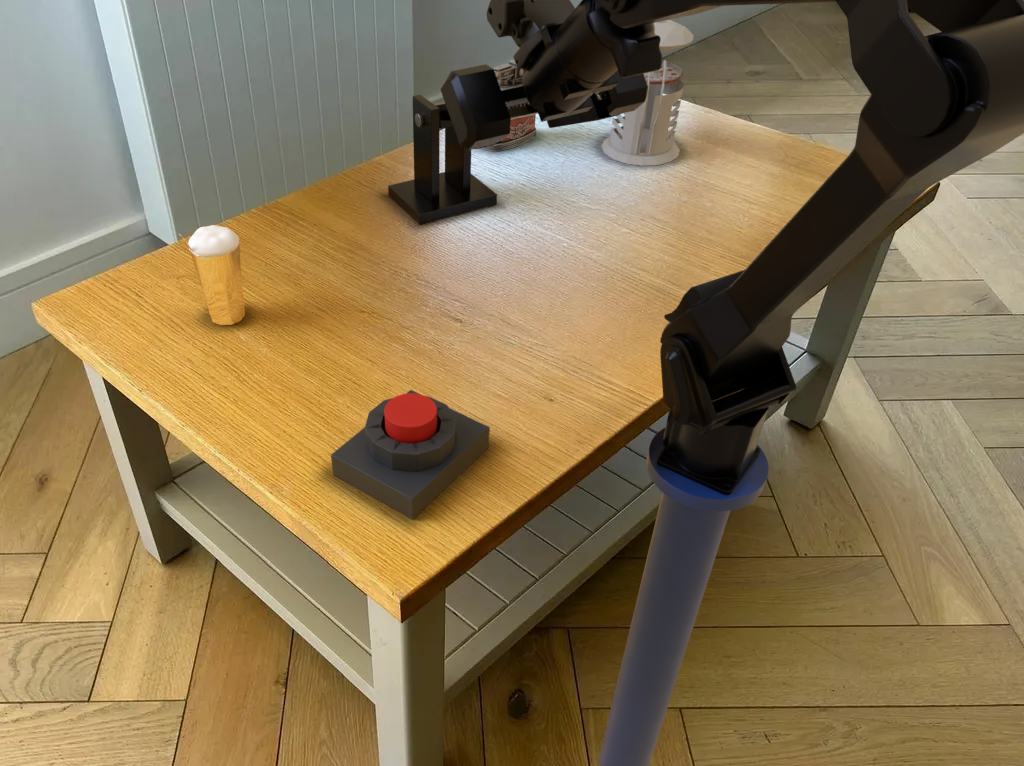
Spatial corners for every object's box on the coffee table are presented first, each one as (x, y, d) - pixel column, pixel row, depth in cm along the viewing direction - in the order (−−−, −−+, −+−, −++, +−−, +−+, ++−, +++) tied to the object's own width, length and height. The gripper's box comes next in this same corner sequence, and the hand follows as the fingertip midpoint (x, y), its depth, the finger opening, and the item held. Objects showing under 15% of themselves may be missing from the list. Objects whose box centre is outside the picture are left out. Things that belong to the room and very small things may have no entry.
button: (447, 423, 69) (447, 406, 68) (415, 451, 67) (415, 434, 66) (406, 403, 71) (406, 386, 70) (374, 430, 69) (373, 413, 68)
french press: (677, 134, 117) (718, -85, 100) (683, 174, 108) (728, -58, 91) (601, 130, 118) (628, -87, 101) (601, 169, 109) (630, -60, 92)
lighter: (523, 128, 118) (528, 49, 112) (541, 136, 117) (547, 57, 110) (478, 145, 115) (480, 65, 108) (496, 154, 113) (499, 73, 106)
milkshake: (188, 318, 87) (166, 224, 80) (235, 298, 89) (219, 205, 82) (211, 338, 84) (191, 243, 77) (260, 317, 87) (245, 223, 80)
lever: (513, 128, 89) (508, 92, 87) (483, 135, 87) (478, 98, 86) (452, 128, 100) (447, 95, 98) (425, 134, 98) (420, 101, 97)
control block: (489, 447, 73) (490, 409, 70) (413, 520, 67) (411, 481, 64) (411, 409, 76) (410, 372, 74) (332, 475, 70) (328, 437, 68)
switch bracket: (497, 204, 103) (501, 102, 95) (419, 225, 100) (417, 120, 92) (462, 177, 108) (464, 77, 100) (388, 195, 105) (384, 94, 97)
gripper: (649, -63, 75) (562, 36, 89) (452, -32, 68) (393, 70, 83) (693, 64, 75) (598, 142, 89) (501, 107, 69) (433, 184, 83)
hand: (508, 132), depth 86 cm, fingers open, 9 cm apart
